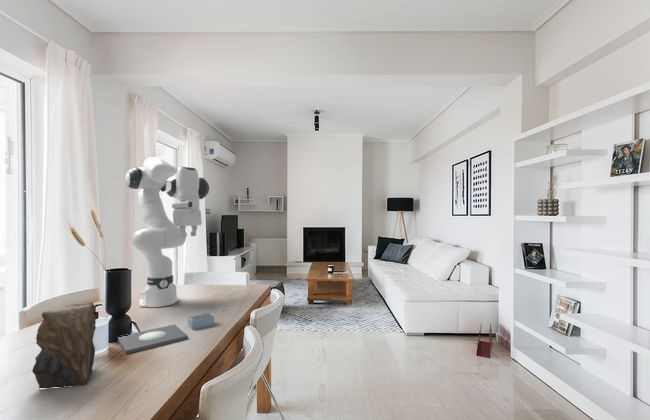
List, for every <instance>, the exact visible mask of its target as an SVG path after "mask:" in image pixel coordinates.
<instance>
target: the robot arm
mask: <svg viewBox="0 0 650 420" xmlns="http://www.w3.org/2000/svg"><path fill="white" fill-rule="evenodd" d="M125 183H126V185H127V187H128V188H130V189H133V190H139V192H138V193H137V199H138V200H137V201H138V206H139V210H140V214H141V215H140V216H141V218H142V221H143V223H144V224H146V225H147V226H149V227H148V228H142V229H138V230H136V231H135V232H134V234H133V236H132V238H131V239H132V244H133V246H134V247H135V249H136V250H139V251H140V252H141V253H142V254H143V255H144V257H145V259H146V262H147V271H148V274H147V275H148V276H147V278H146V284H147V285H146V287H145V288H144V290H142V291H141V292H140V296H141V298H139V307H140V308H160V307H166V306H171V305H174V304H175V303H177V302H179V301H181V299H180V298H179V297H178V294H177V292H178V291H177V285H176V284H174V275H173V261H172V259H171V258H170V257H169V256H166V255H164V254H163V252H162V250H166V249H174V248H178V247H181V246H183V245H184V244H185V243H186V240H187V237H188V233H187V230H186V229H187V227H191V232H190V236H191V237H196V236H197V231H198V226H201V225H202V222H203V221H202V211H201V209H200V200H203V199H204V198H206V196H208V194H209V192H210V184H209V183H208V181H207V180H206V179H205V178H204V177H199V173H198V170H197V169H196V168H195V167H187V166H179V167H175V166H174V165H172V164H170V163H168V162H167V161H166V160H164V159H162V158H159V157H155V156H152V157H148V158H146V159H145V160H144V162H143V164H142V167H139V166H136V167H133V168H131V169H128V170H127V171H126V173H125ZM160 192H165V193H166V194H167V196H169V197H171V198H175V199H176V200H175V201H173V202H172V203H171V208H172V209H173V210H172V220H173V222H172V221H171V220H170V219H169V217H168V216H167V213H166V211H165V207H164V205H163V201H162V198H161V197H160V196H161V195H160Z"/></svg>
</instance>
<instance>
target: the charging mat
mask: <svg viewBox="0 0 650 420" xmlns="http://www.w3.org/2000/svg"><path fill="white" fill-rule="evenodd" d="M139 332H140V333H139ZM129 334H130V335H128V334H127V335H128V336H123V335H121V336H122V337H118V336H117V337H118V340H117V342H118V344H119V345H120V347H121V349H122V351H123V352H124V354H125V355H129V354H133V353H137V352H140V351H144V350H147V349H152V348H157V347H160V346H161V347H162V346H165V345H168V344H172V343H177V342H180V341H185V340H188V339H189V336H188V334H186V332H185V331H183V330H182V329H181V328H179V327H178V326H177V324H170V325H165V326H161V327H156V328H151V329H147V330H143V331H137V332H131V333H129Z"/></svg>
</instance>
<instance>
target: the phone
mask: <svg viewBox="0 0 650 420" xmlns="http://www.w3.org/2000/svg"><path fill="white" fill-rule="evenodd" d="M214 325H215V315H214V314H212V313H211V312H207V313H203V314H198V315H193V316H189V317H187V327H188V328H189V329H191V330H193V329H194V330H196V329H201V328H207V327H210V326H214Z"/></svg>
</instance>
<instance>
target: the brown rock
mask: <svg viewBox="0 0 650 420" xmlns="http://www.w3.org/2000/svg"><path fill="white" fill-rule="evenodd" d="M94 312H95V304H94V302H90V303H89V302H88V303H83V304H73V303H72V304H70V305H66V306H65V307H62V308H58V309H56V310H47V311H44V312H42V313H41V317H42V321H41V323H40V325H39V326H38V328H37V330H36V331H37V333H36V337H35V340H36V342H35V344H36V345H37V346H38V347H39V348H40V349H41V350H40V352H39V353H38V354H37V355H36V356H35V363H34V365H33V367H32V370H31V371H32V373H33V374H34V376H35V379H36V383H37V384H38V389H39V388H51V387H64V386H75V387H78V386H77V385H81V386H86V384H87V385H88V382H89V381H88V380H89V379H90V376H91V373H92V370H93V367H94V366H93V365H94V361H95V354H96V349H95V348H96V346H95V344H94V337H95V332H96V328H97V327H96V316H95V313H94ZM64 388H65V387H64Z"/></svg>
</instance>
